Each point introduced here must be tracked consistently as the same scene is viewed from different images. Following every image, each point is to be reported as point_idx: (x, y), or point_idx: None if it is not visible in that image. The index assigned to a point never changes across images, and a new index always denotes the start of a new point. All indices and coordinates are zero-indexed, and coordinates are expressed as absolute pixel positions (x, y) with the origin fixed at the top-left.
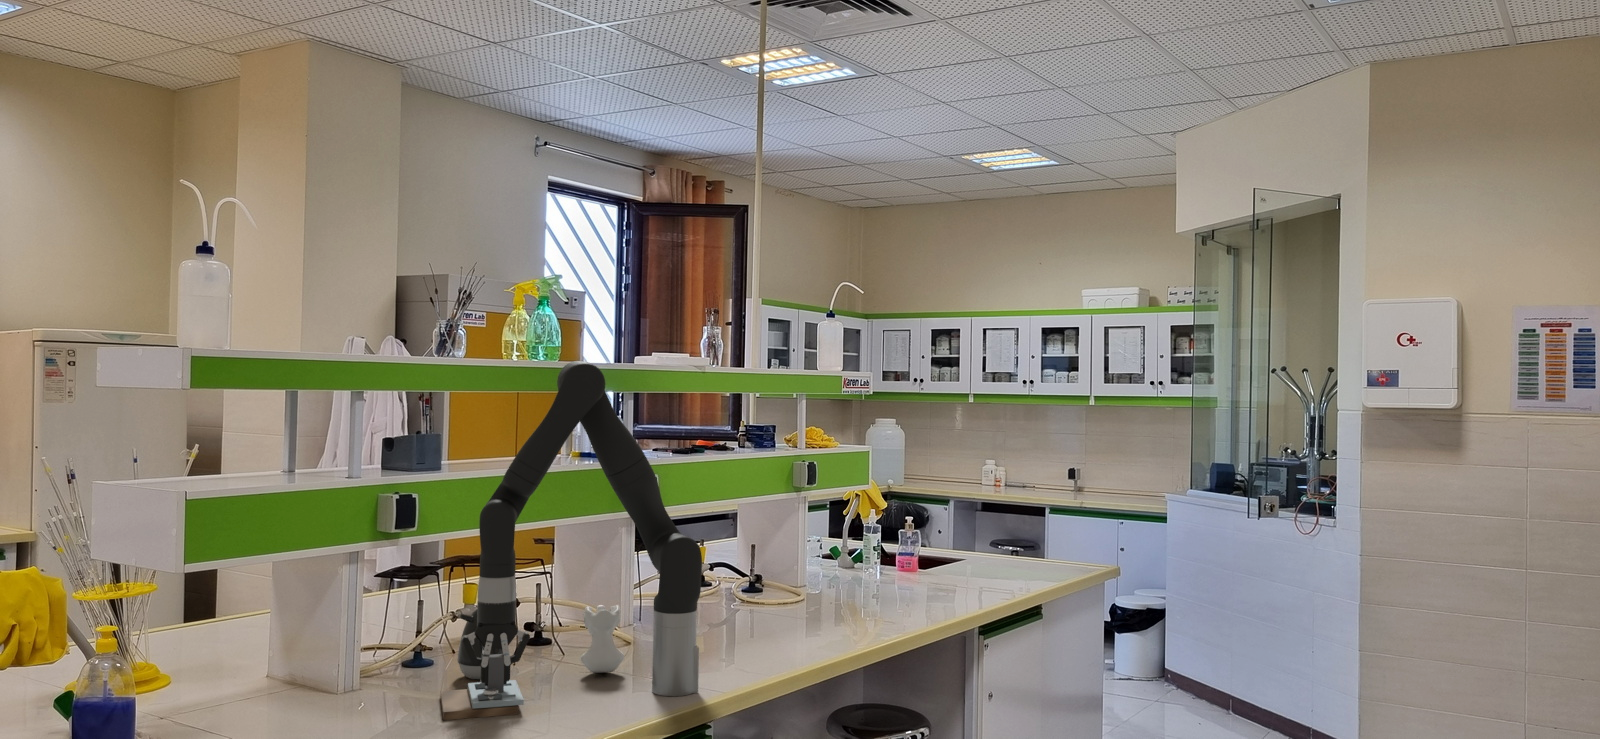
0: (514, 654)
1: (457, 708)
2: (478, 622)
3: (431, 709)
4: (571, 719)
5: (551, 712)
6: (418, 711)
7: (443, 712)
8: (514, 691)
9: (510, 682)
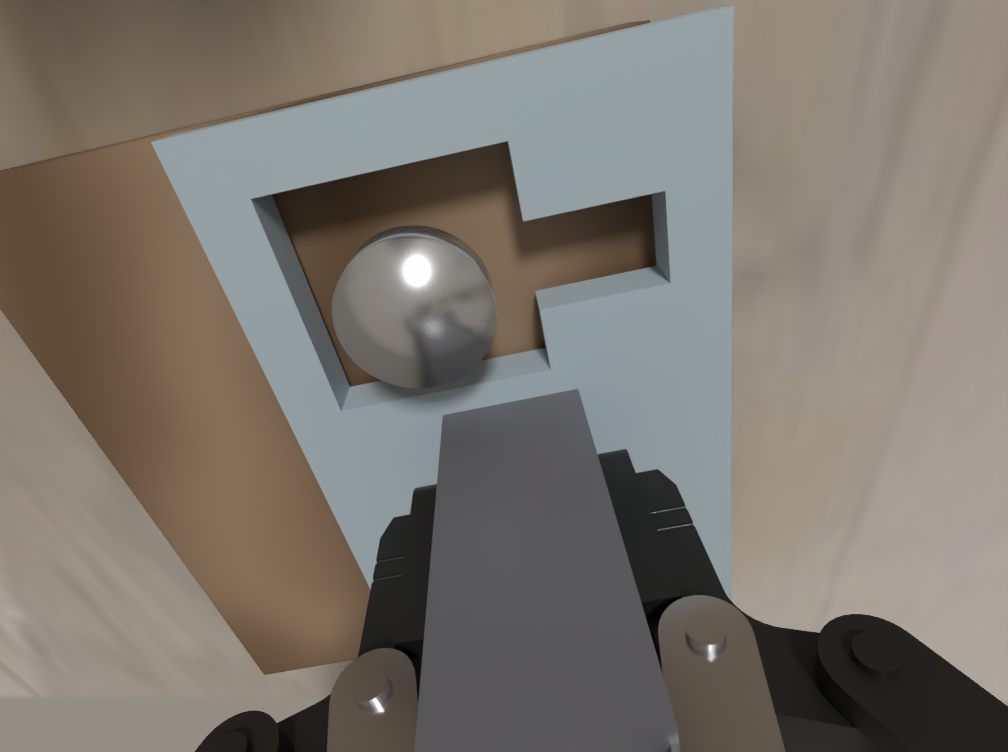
0: (871, 732)
1: (321, 628)
2: None
3: (96, 466)
4: (919, 634)
5: (857, 543)
6: (32, 501)
7: (263, 667)
8: (684, 475)
9: (661, 153)
